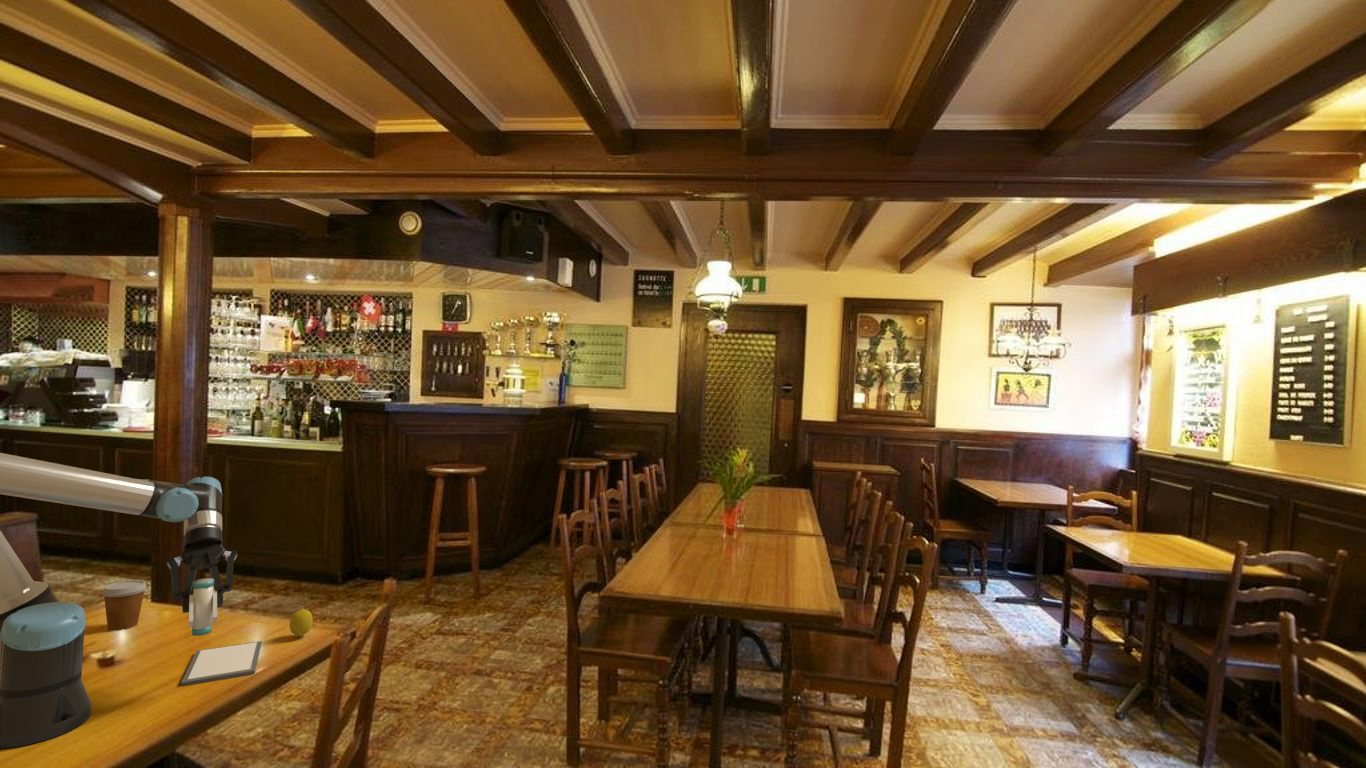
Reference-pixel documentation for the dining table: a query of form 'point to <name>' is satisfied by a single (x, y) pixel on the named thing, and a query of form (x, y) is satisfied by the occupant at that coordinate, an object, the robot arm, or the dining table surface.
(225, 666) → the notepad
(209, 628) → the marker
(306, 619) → the lemon
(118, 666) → the dining table surface
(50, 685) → the robot arm
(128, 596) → the disposable coffee cup
